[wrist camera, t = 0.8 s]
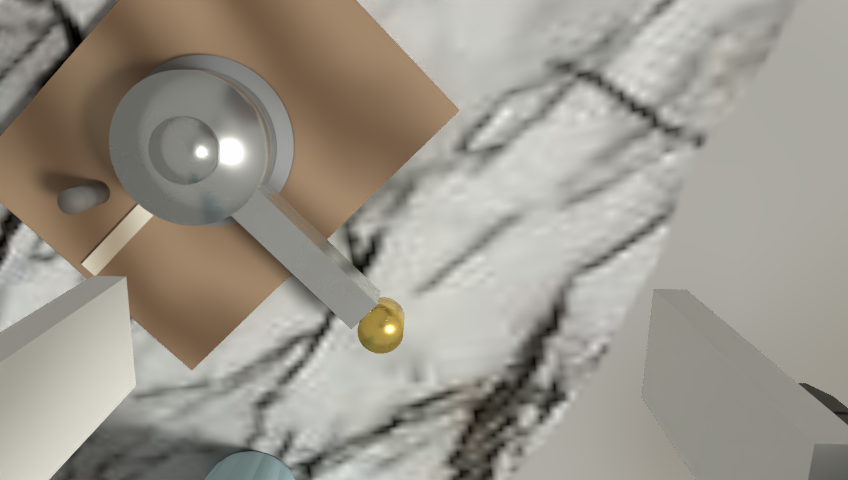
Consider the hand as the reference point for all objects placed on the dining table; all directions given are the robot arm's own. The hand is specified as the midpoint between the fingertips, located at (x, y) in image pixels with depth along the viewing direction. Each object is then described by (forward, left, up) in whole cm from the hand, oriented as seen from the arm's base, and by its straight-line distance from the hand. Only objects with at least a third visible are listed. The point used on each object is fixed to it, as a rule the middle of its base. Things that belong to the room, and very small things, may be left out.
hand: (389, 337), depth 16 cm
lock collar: (+5, -4, -18) cm, 19 cm away
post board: (+5, -9, -20) cm, 23 cm away
